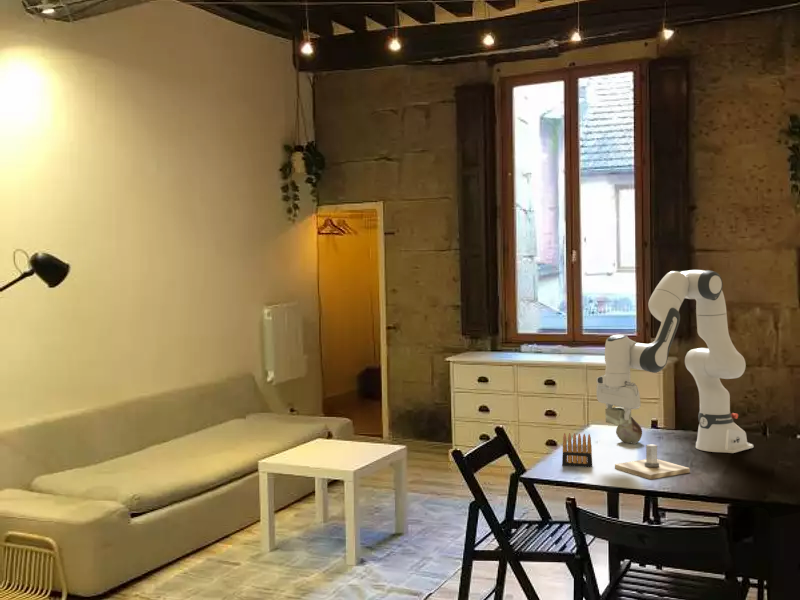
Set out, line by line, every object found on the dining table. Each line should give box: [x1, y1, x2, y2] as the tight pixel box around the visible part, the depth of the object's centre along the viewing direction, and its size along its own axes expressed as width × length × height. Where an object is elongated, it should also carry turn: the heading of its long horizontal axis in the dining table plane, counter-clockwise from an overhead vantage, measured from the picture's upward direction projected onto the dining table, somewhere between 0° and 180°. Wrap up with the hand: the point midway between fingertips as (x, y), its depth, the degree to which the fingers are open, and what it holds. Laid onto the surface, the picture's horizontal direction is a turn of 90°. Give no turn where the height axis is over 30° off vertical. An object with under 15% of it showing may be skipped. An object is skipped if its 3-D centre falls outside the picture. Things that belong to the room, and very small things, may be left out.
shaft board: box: [614, 443, 691, 480], centre depth 308 cm, size 18×18×9 cm
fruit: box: [615, 416, 643, 445], centre depth 354 cm, size 10×9×12 cm
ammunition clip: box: [561, 432, 593, 468], centre depth 317 cm, size 11×2×12 cm, turn 72°
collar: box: [604, 406, 632, 426], centre depth 315 cm, size 6×6×5 cm
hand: (618, 418), depth 315 cm, fingers closed on collar, 6 cm apart
